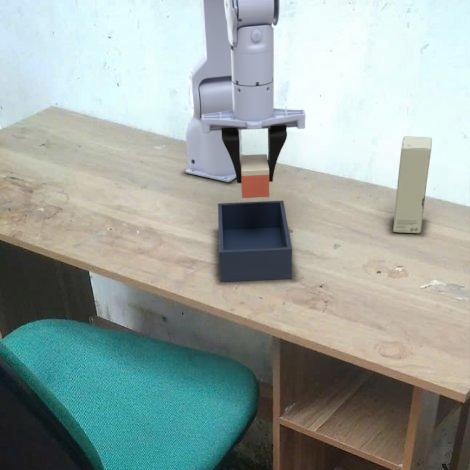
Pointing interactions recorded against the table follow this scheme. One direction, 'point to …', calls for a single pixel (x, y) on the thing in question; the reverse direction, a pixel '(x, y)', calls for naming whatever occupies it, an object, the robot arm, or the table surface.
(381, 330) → the table surface
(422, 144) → the box
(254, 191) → the box
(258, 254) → the navy blue open bin
